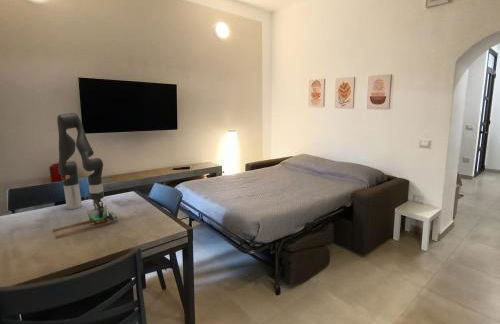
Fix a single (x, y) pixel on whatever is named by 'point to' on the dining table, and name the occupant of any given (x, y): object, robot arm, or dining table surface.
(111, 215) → the guide channel
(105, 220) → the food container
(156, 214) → the dining table surface
